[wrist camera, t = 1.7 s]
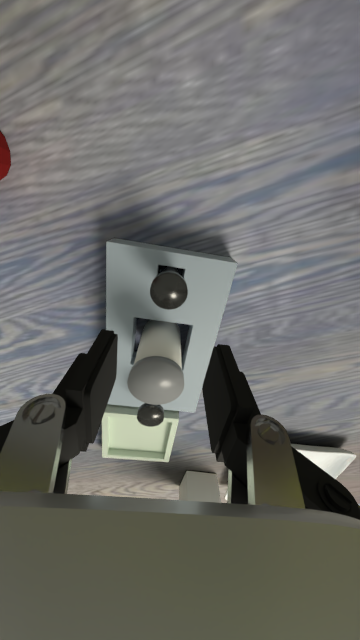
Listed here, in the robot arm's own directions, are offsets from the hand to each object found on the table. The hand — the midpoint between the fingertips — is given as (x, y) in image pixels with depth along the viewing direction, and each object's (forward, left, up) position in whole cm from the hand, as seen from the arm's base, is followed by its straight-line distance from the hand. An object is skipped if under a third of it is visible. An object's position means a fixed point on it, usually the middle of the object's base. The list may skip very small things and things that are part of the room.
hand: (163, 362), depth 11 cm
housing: (0, +9, -17) cm, 20 cm away
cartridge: (0, +9, -17) cm, 20 cm away
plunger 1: (0, +18, -16) cm, 24 cm away
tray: (+1, +31, -17) cm, 36 cm away
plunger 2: (0, 0, -16) cm, 16 cm away
